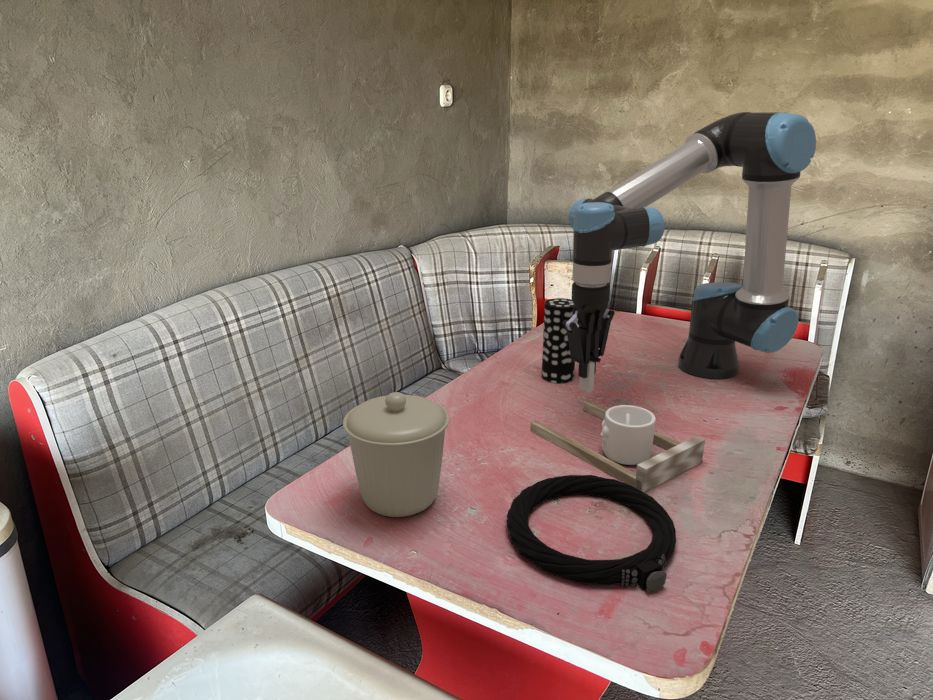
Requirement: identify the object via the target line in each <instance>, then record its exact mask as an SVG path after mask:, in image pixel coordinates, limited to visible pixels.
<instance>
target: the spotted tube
mask: <svg viewBox="0 0 933 700" xmlns="http://www.w3.org/2000/svg"><path fill="white" fill-rule="evenodd" d="M573 309H574V303H573V301H572V298H563V297H562V298H561V297H557V298H549V299H546V300H544V312H543V315H544V316H543V333H542V336H543V337H542V355H541V356H542V358H541V359H542V360H541V361H542V362H541V378H542V380H543V381H546V382H548V383H551V384H567V383H570V382H572V381H574V379H575V371H576V370H575V369H576V368H575V367H576V362H575V361H572V360H571V355H570V348H569V342H568V336H567V330H566V329H565V327H564V325H563V322H564V321H565V320H568V321H569V320H570V319H571V317H572V316H573V314H572V312H573Z"/></svg>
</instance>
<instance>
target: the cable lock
mask: <svg viewBox="0 0 933 700" xmlns="http://www.w3.org/2000/svg"><path fill="white" fill-rule="evenodd" d="M572 495H573V496H574V495H589V496H594V497H603V498H608V499H611V500H613V501H614V502H618V503H621V504H624V505H627V506H628V507H630V508H631V509H632V510H634V511H635V512H636V513H638V514H639V515H640V516H642V517H643V518H644V519H645V520H646V521H647V522H648V523H649V525H650V527H651V530H652V538H651V541H650V543H649V544H648V546H647V547H646V548H645V549H642V550H641V551H638V552H637V553H634V554H632V555H628V556H625V557H622V558H617V559H587V558H582V557H578V556H574V555H569V554H566V553H563V552H560V551H558V549H557V550H556V549H554V548H552V547H550V546H548V545H546V543H544V542H543V541H542V540H540V538H539V537H537V536H536V535H535V534H534V532H533V531H532V529H531V527H530V524H529V517H530V514H531V513H532V512H533V509H535V508H536V507H537V506H540V504H542V503H543V502H546V501H548V500H551V499H554V498H558V497H561V496H562V497H563V496H572ZM506 527H507V531H508V535H509V538H510V541H511V543H512V545H514V547H515V548H516V549H517V550H518V552H519V554H520V555H522V556H523V557H524V558H526V559H528V561H530V562H531V563H532V564H534V565H536V566H537V567H538V568H540V569H541V570H542V571H544V572H546V573H548V574H551V575H552V576H555V577H561V578H562V579H566V580H569V581H572V582H574V583H578V584H583V585H584V584H585V585H597V586H598V585H601V586H612V585H618V584H619V586H620V587H624V588H628V587H629V586H630V587H632V588H634V587H635V586H638V587H639V588H640V589H641V591H645V590H646V592H648V593H649V594H651V593H653V594H654V593H657V592H659V591H660V590H661V589H662V588H663V587H664V586H665V584H666V581H667V573H666V572H665V571H664V569H665V566H666V564H667V563H668V561H669V560H670V559H671V557H672V555H673V554H674V551H675V548H676V544H677V531H676V527H675V524H674V520H673V519H672V518H671V516H670V515H669V513H668V512H667V510H666V509H665V508H664V506H663V505H661V503H659V502H658V501H657V500H656V499H655V498H654V497H653V496H651V495H649V494H648V493H647V492H645V493H644V492H642V491H640V490H639V489H637V488H635V487H633V486H631V485H628V484H626V483H624V482H622V481H621V480H619V479H616V478H606V477H603V476H598V475H593V474H585V475H583V474H582V475H581V474H580V475H579V474H567V475H560V476H554V477H548V478H545V479H542V480H539V481H537V482H534V484H532V485H529V486H527V487H526V488H524V489H521V491H520V493H519V494H518V495H517V496H516V497H514V498H513V499H512V502H511V504H510V507H509V509H508V511H507V514H506Z"/></svg>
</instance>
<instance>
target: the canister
mask: <svg viewBox="0 0 933 700" xmlns="http://www.w3.org/2000/svg"><path fill="white" fill-rule="evenodd" d="M343 417H344V418H343V420H342V428H343V429H344V432H345V433H346V434H347V435H348V441H349V445H350V451H351V457H352V461H353V465H354V469H355V470H354V472H355V475H356V480H357V483H358V489H359V492H360V496H361V499H362V501H363V502H364V505H366V506H367V507H368V508H369V510H371V511H373V513H377V514H378V515H382V516H383V517H384V516H385V517H386V516H387V517H388V518H389V517H390V518H391V517H392V518H402V517H403V518H405V517H410V516H415V515H416V514H419V513H421V512H423V511H425V509H427V508H429V507H430V506H431V504H432V503H433V502H434V500H436V496H437V494H438V492H439V487H440V482H441V481H440V480H441V471H442V465H443V464H442V463H443V455H444V445H445V444H444V443H445V435H446V434H445V433H446V429H447V428H448V425H449V424H450V419H451V418H450V414H449V412H448V410H447V409H446V408H445V407H444V406H443V405H441V404H440V403H438V402H435V401H433V400H431V399H428V398H426V397H423V396H420V395H414V394H403V393H402V392H399V391H394V392H390V393H389V394H387V395H381V396H377V397H374V398H370V399H368V400H366V401H363V402H362V403H360V404H358V405H356V406H354V407H353V408H351V409H350V410H349V411H348V412H347V413H346V414H345V415H344V416H343Z"/></svg>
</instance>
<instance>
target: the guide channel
mask: <svg viewBox="0 0 933 700" xmlns="http://www.w3.org/2000/svg"><path fill="white" fill-rule="evenodd" d="M582 409H583V411H584V412H586V413H589V414H590V415H592V416H594V417H597V418H599V419H601V420H602V421H603V420H604V419H605V413H606V411H607V410H608V409H609V408H608V409H607V408H605V407H603V406H601V405H599V404H596V403H595V402H592V401H590V400H586V401H584V402H583V408H582ZM530 432H532V433H534V434H536V435H538V436H539V437H541V438H543V439H545V440H547V441H549V442H551V444H554V445H556V446H557V447H559V448H561V449H562V450H565V451H566V452H568V453H570V454H572V455H574V456H576V457H578V458H579V459H581V460H583V461H584V462H586V463H588V464H590V465H591V466H594V467H596V468H597V469H599V470H601V471H603V472H604V473H606V474H608V475H610V476H612V477H613V478H614V479H616V480H618V481H620V482H623V483H626V484H628V485H631V486H633V487H635V488H637V489H639V490H640V491H642V492H644V493H647V492H648V491H651V490H652V489H654V488H656V487H658V486H659V485H661V484H663V483H666V482H667V481H669V480H672V479H673V478H675V477H677V476H679V475H681V474H682V473H684V472H687V471H688V470H690V469H692V468H694V467H696V466H698V465H700V464H701V463H703V457H704V451H705V445H706V439H704V438H702V437H701V436H698V435H696V436H694V437H691V438H689V439H687V440H685V441H683V442H679V441H677V440H675V439H673V438H671V437H669V436H667V435H665V434H662V433H660V432H658V431H656V430H654V439H653V445H656V446H658V447H660V448H662V449H664V450H665V451H662V452H660V453H659V454H655V455H654V456H651V457H650V459H648V460H646V461H644V462H642V463H640V464H638V465H636V472H634V471H632V470H630V469H628V468H626V467H625V466H623V465H622V464H620V463H617V462H614V461H612V460H611V459H609V458H608V457H607V456H604V455H602V454H601V453H598V452H596V451H595V450H592V449H590V448H588V447H587V446H585V445H583V444H582V443H579V442H577V441H575V440H574V439H572V438H570V437H567V436H566V435H564V434H563V433H561V432H558V431H556V430H555V429H552V428H551V427H550V426H547V425H545V424H544V423H542V422H540V421H537V420H533V421H530Z"/></svg>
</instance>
